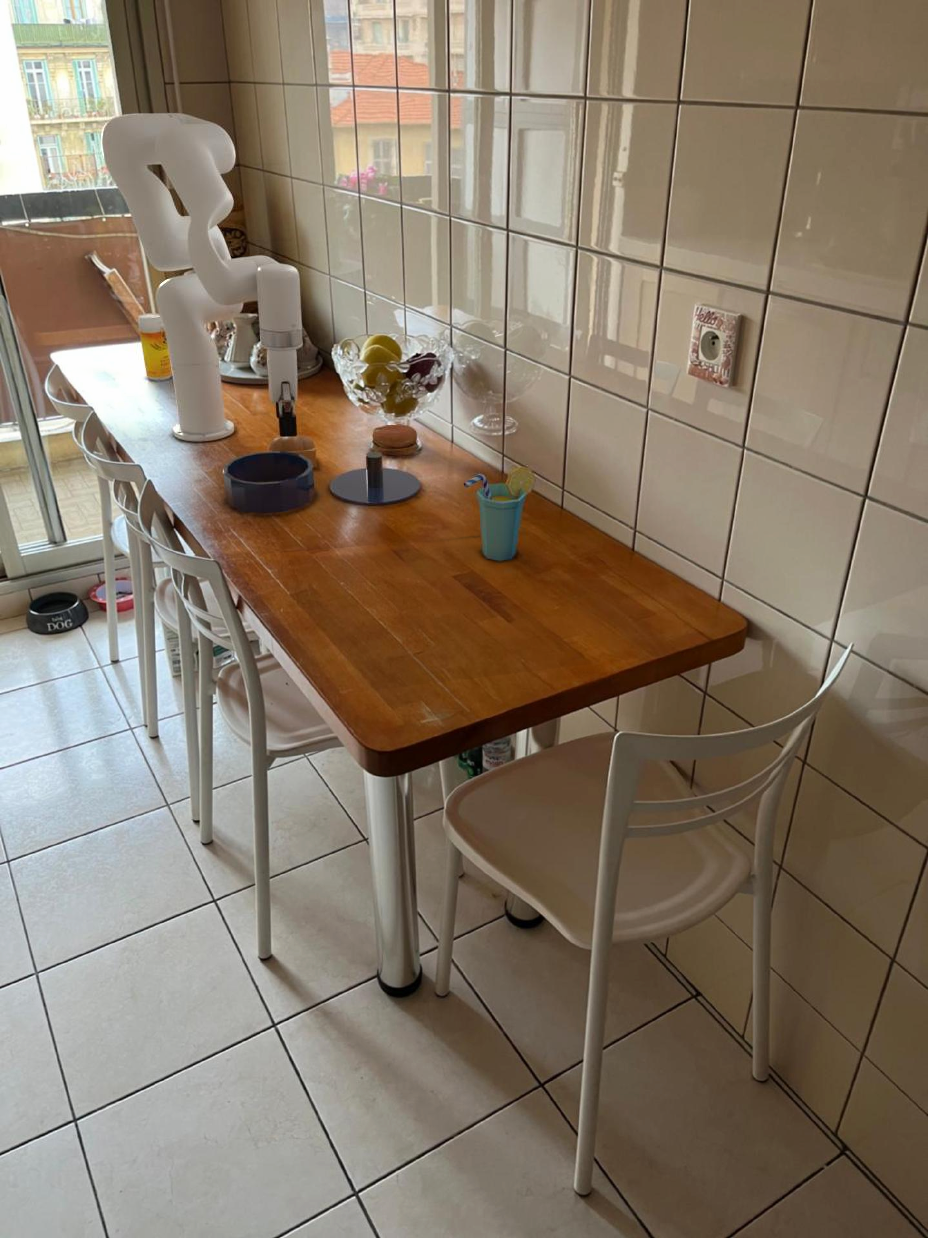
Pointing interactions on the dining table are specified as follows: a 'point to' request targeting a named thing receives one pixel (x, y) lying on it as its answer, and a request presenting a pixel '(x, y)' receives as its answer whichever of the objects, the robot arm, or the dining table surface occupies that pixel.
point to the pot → (269, 496)
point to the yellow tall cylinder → (154, 346)
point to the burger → (395, 440)
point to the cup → (502, 512)
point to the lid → (374, 484)
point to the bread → (295, 446)
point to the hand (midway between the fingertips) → (286, 426)
